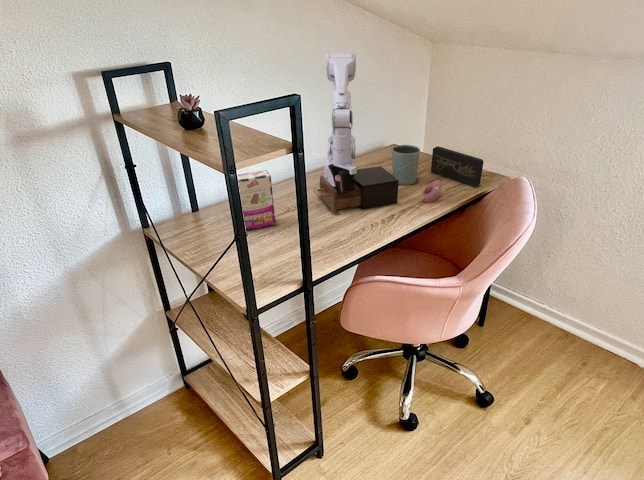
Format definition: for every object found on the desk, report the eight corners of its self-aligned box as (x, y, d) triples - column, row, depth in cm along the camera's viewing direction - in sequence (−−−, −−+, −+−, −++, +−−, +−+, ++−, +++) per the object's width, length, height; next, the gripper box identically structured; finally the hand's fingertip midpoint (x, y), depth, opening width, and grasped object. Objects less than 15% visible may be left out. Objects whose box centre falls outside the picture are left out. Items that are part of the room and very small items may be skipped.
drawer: (323, 215, 157) (322, 192, 153) (310, 198, 168) (309, 177, 164) (369, 207, 162) (370, 185, 158) (353, 191, 173) (354, 170, 169)
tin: (332, 191, 163) (332, 177, 160) (341, 187, 166) (340, 172, 163) (343, 195, 161) (343, 180, 158) (351, 190, 164) (351, 176, 161)
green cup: (417, 186, 178) (419, 154, 171) (389, 184, 179) (390, 152, 173) (417, 176, 186) (420, 145, 180) (391, 174, 187) (392, 143, 181)
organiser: (362, 209, 161) (362, 185, 157) (346, 193, 172) (346, 171, 168) (397, 203, 165) (398, 180, 161) (379, 188, 176) (380, 166, 172)
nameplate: (430, 172, 190) (433, 146, 184) (433, 170, 191) (436, 145, 185) (476, 187, 177) (480, 161, 171) (479, 186, 178) (483, 159, 172)
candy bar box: (271, 218, 156) (266, 169, 147) (275, 225, 152) (271, 175, 143) (236, 225, 152) (229, 174, 143) (240, 232, 148) (233, 180, 140)
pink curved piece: (432, 207, 166) (444, 191, 162) (421, 201, 166) (432, 184, 162) (434, 196, 174) (445, 180, 170) (423, 189, 174) (434, 173, 170)
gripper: (365, 152, 152) (364, 193, 159) (341, 139, 162) (341, 178, 170) (345, 156, 149) (345, 197, 156) (322, 143, 159) (323, 182, 166)
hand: (342, 188), depth 163 cm, fingers closed on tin, 4 cm apart
